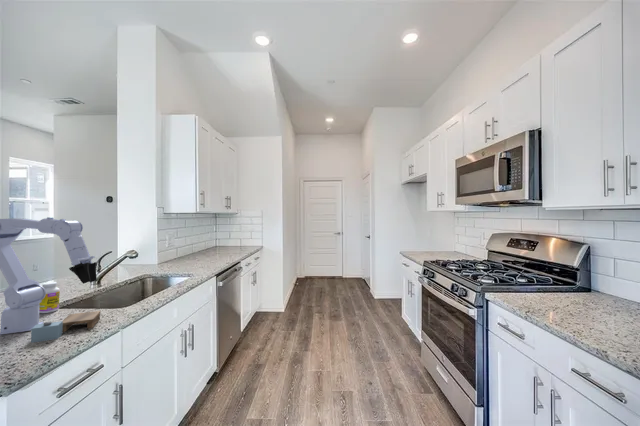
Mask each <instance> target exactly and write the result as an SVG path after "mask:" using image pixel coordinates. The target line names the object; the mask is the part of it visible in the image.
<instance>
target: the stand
mask: <svg viewBox="0 0 640 426" xmlns="http://www.w3.org/2000/svg"><path fill="white" fill-rule="evenodd" d="M100 315H101V310H96V311H86V312H78V313H70V314H68V315H67V316H66V317H64V319H62V321H63V329H62V333H66V332H68V330H70V328H71V327H72V326H73V325H79V324H86V325H87V327H86V329H87V330H89V329H90V330H91V329H93V328H94V327H95V326H96V324H97V323H98V322H99V321H100V319H101V317H100Z"/></svg>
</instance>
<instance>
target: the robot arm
mask: <svg viewBox="0 0 640 426" xmlns="http://www.w3.org/2000/svg"><path fill="white" fill-rule="evenodd" d="M83 228H84V227H83V224H82V222H80V221H79V220H76V219H73V220H66V219H65V218H60V219H56V218H55V217H51V216H49V217H48V216H47V217H45V218H42V219H40V220H37V219H29V218H21V217H19V218H18V217H17V218H13V217H12V218H0V271H1V273H2V275H3V276H4V278H5V280H6V282H7V284H8V287H7V288H6V289H5V290H4V291H3V292H2V294H3V296H4V302H5V304H6V306H7V307H6V308H4V309H3V311H2V312H1V315H0V335H6V334H7V335H8V334H15V333H21V332H22V333H23V332H31V329H32V328H33V327H34V326H35V325H37V324H44V323H45V321H40V313H39V305H40V304H39V303H41V302H42V299H44V297H45V295H46V290H45V288H44V287H42V285H41V283H40V282H39V281H38V280H35V279H31V278H30V277H29V275H28V274H27V272H26V270H25V268H24V266H23V265H22V263H21V261H20V258H19V257H18V255H17V254H16V251H15V250H14V248H13V247H12V243H13V242H15V241H16V240H17V239H18V237H20V235H21V234H22V233H23V232H24V230H27V229H33V230H37V231H39V232H40V233H43V234H50V235H56V236H59V238H60V240H61V241H62V242H63V244H64V246H65V249H66V251H67V255H68V256H69V259H70V262H71V267H69V268H68V269H69V271H71V272H72V273H74V274H75V275H76V276H77V278H78V279H79V280H80V282H81V283H82V284H86V283H93V282H96V281H98V278H97V277H98V276H97V265H98V263H97V262H94V261H92V260H93V259H95V258H96V256H95V255H92V256H91V254H90V252H89V249H88V247H87V243H86V241H85V240H84V237H83V235H82V231H83Z"/></svg>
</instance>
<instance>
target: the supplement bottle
mask: <svg viewBox="0 0 640 426" xmlns="http://www.w3.org/2000/svg"><path fill="white" fill-rule="evenodd" d="M57 285H58V282H57V281H47V282H44V283H42V285H41V286H42V287H44V288H45V290H46V295H45V297H44V299H42V302H41V303H39V304H40V305H39V314H50V313H55V312H57V311H58V310H59V309H60V296H61V295H60V294H61V293H60V292H61V290H60V288H59V287H57Z"/></svg>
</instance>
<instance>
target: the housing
mask: <svg viewBox="0 0 640 426" xmlns="http://www.w3.org/2000/svg"><path fill="white" fill-rule="evenodd" d="M62 329H63V320H61V321H53V322H52V321H44V323H43V324H37V325H35V326H34V327H33V328H32V329H31V331H30V343H31V344H32V343H38V342H44V341H45V342H46V341H51V340H59V338H60V337H61V336H62V335H63V332H62Z"/></svg>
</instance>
